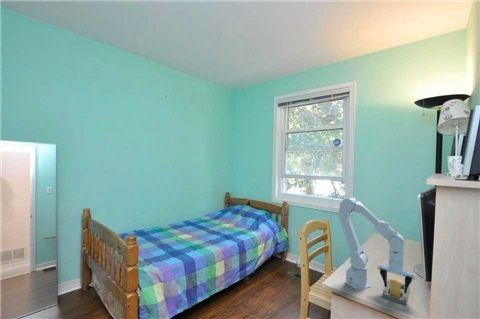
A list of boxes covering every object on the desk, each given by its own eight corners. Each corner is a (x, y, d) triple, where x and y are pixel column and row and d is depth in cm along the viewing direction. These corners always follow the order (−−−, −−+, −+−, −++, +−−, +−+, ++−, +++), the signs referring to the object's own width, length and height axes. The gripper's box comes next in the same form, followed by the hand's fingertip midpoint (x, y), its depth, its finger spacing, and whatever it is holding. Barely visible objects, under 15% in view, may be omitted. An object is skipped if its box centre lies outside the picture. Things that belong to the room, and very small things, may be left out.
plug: (400, 300, 105) (400, 283, 105) (389, 296, 108) (390, 280, 108) (400, 296, 108) (401, 280, 109) (390, 293, 111) (391, 277, 111)
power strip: (406, 305, 102) (406, 301, 102) (382, 296, 107) (382, 293, 107) (409, 288, 115) (409, 285, 115) (388, 282, 121) (388, 279, 121)
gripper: (416, 262, 107) (415, 291, 106) (379, 253, 116) (378, 280, 116) (415, 267, 101) (414, 298, 101) (377, 257, 110) (376, 286, 110)
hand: (395, 289), depth 108 cm, fingers open, 7 cm apart
